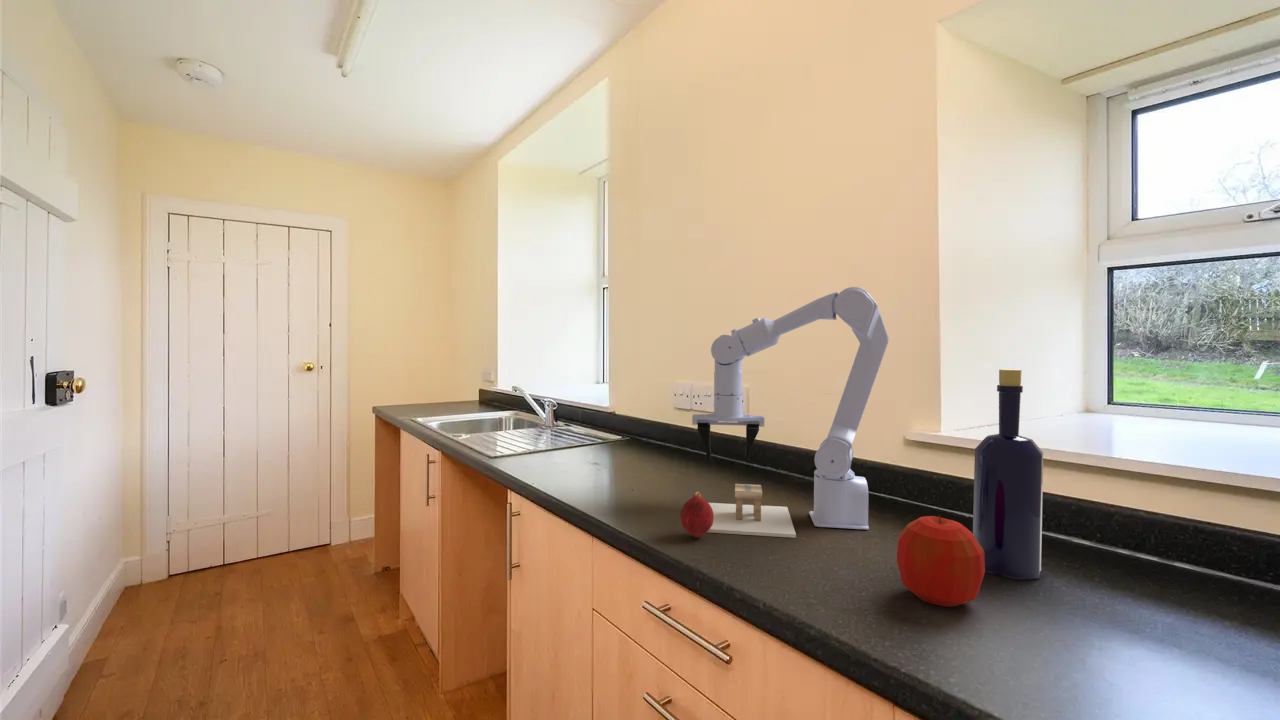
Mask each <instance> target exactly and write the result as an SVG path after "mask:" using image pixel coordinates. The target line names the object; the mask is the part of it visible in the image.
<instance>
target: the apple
mask: <svg viewBox="0 0 1280 720" xmlns="http://www.w3.org/2000/svg"><path fill="white" fill-rule="evenodd" d="M897 539H898V541H897V547H896V548H897V549H896V562H897V567H898V571H899V575H900V580H901V583H902V585H903V586H904V587H905V588H907V589H908V590H909V591H910V592H911V593H912V594H914V595H915V596H917V597H918V598H919V599H920V600H922V601H923V602H926V603H928V604H932V605H936V606H940V607H941V606H942V607H946V608H947V607H948V608H949V607H951V608H954V607H957V606H960V605H963V604H966V603H968V602H971V601H974V600H975V599H976V598H977V596H978V594H979V592H980V589H981V587H982V586H981V585H982V582H983V579H984V577H985V573H986V572H985V561H984V550H983V549H982V547H981V546H980V544H979V543H978V541H977V540H976V538H975V537H974V535H973V531H970V530H969V528H967V527H966V526H964V525H963V524H962V523H960V522H958V521H956V520H953V519H947V518H944V517H941V516H940V514H938V516H935V515H927V516H920V517H919V518H917V519H914V520H913V521H910V522H908V523H907V524H906V526H904V528H903V529H902V530H901V532H900V533H899V535H898V538H897Z"/></svg>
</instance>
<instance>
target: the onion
mask: <svg viewBox="0 0 1280 720" xmlns="http://www.w3.org/2000/svg"><path fill="white" fill-rule="evenodd" d="M709 503H710V502H708V501H707V500H706V499H704V498H703V497H702V493H700V491H695V492H694V494H693V496H692V497H691V498H690V499H688V500H687V501H686V502H685V503H684V504H683V506H682V508H681V511H680V516H679V517H680V519H679V520H680V522H681V526H682V528H683V529H684V530H685V531H686V533H688V535H691V536H692V537H694V538H695V539H699V538H701V537H702V536H703V535H705V534H706V533H708V532H707V531H708V530H709V529H710V528H711V526H712V525H713V520H714V514H713V510H712V508H711V506H710V505H709Z"/></svg>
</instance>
